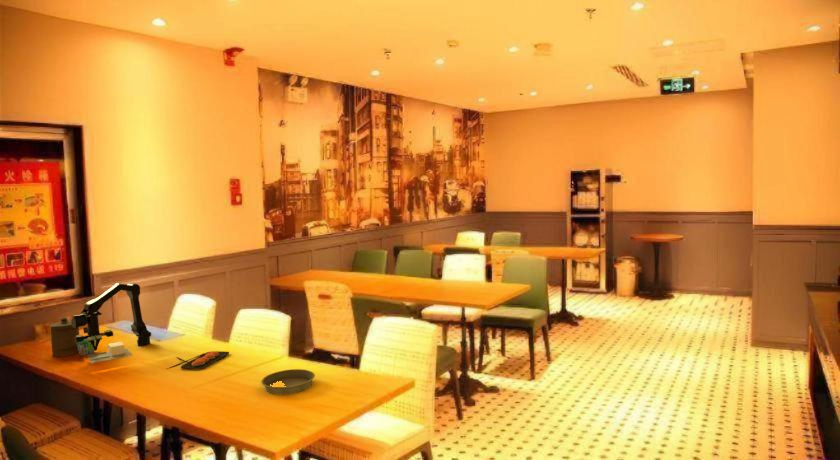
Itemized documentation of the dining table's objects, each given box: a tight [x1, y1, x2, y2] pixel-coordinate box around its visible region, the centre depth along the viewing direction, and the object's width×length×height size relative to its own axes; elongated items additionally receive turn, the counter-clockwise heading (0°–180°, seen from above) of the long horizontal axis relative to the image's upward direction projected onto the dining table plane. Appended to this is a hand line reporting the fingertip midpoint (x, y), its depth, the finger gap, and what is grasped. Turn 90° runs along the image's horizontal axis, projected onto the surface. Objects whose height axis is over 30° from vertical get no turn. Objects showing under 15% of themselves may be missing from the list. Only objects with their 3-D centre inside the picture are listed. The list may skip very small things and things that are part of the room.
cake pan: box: [260, 368, 316, 396], centre depth 274 cm, size 25×25×4 cm
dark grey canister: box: [49, 316, 80, 357], centre depth 350 cm, size 15×15×22 cm
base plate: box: [86, 348, 133, 364], centre depth 336 cm, size 21×18×3 cm
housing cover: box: [107, 341, 126, 356], centre depth 341 cm, size 7×10×5 cm
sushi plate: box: [166, 350, 230, 370], centre depth 321 cm, size 29×30×4 cm
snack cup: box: [75, 336, 96, 357], centre depth 344 cm, size 16×10×10 cm
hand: (95, 350), depth 334 cm, fingers closed
